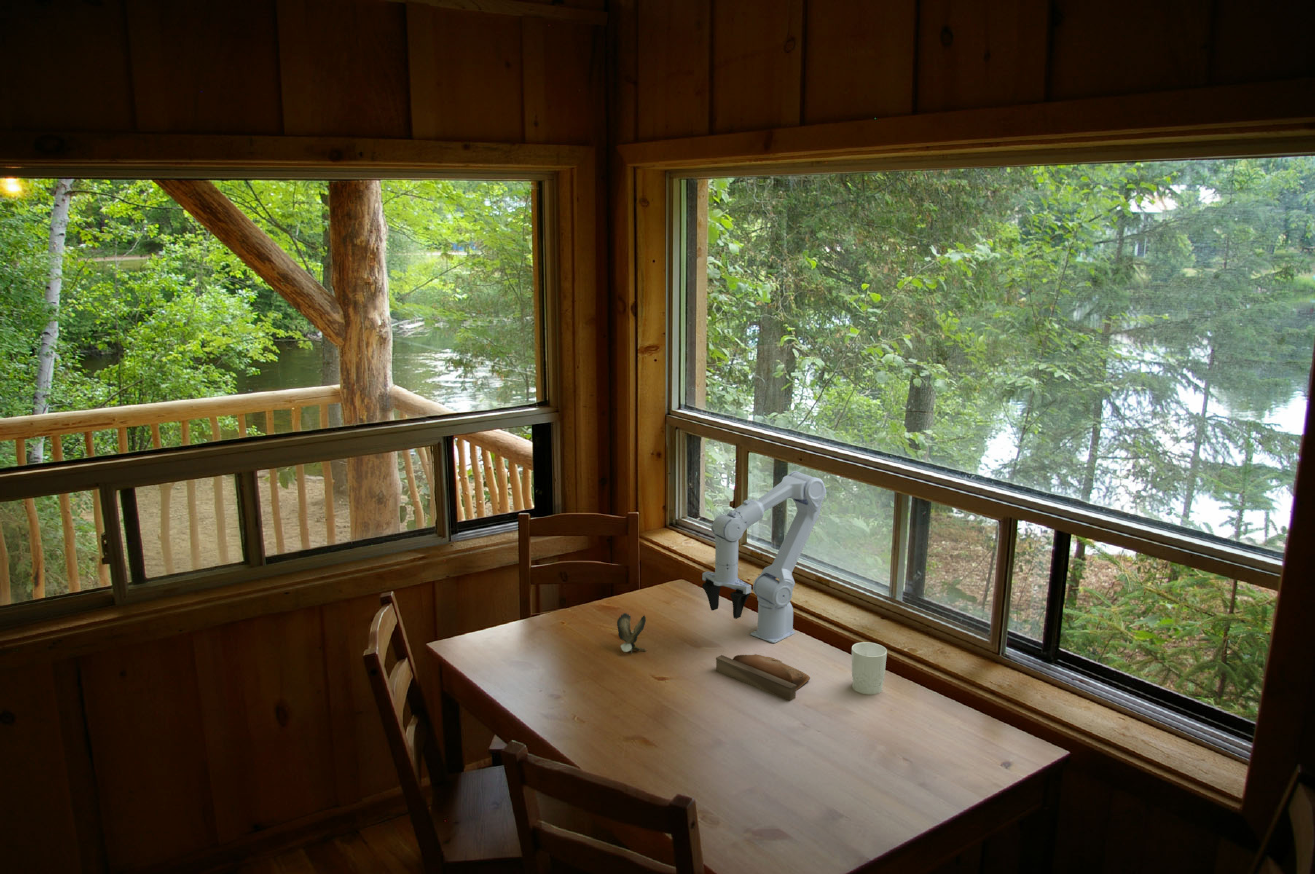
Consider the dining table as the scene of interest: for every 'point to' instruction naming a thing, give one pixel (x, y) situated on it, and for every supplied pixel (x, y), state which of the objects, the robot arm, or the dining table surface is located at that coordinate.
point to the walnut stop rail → (756, 677)
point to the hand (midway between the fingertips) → (725, 613)
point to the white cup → (868, 667)
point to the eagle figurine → (629, 632)
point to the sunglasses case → (774, 668)
